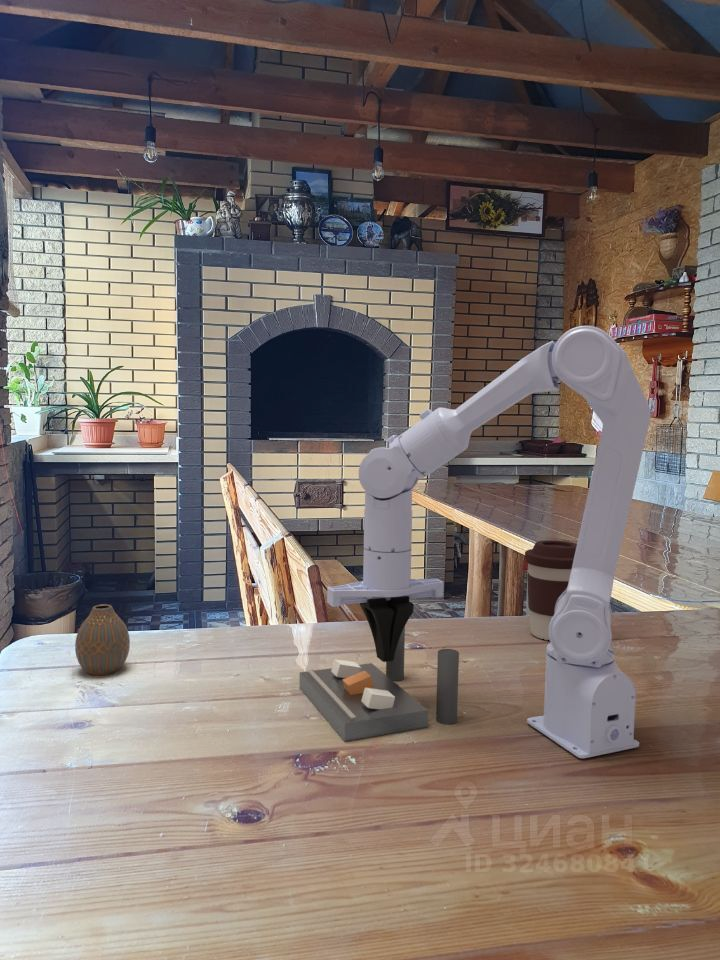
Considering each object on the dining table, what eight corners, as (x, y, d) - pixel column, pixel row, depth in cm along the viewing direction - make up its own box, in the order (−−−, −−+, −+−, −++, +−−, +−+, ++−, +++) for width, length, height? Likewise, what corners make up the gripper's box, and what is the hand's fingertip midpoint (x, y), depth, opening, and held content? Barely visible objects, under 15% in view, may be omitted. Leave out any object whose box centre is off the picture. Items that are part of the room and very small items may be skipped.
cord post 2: (460, 722, 81) (462, 654, 80) (442, 725, 80) (444, 656, 79) (450, 714, 83) (452, 647, 82) (432, 717, 82) (434, 650, 81)
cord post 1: (406, 679, 94) (408, 620, 93) (390, 681, 93) (391, 622, 92) (399, 673, 96) (400, 615, 95) (382, 675, 95) (384, 617, 94)
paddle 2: (391, 710, 80) (395, 697, 80) (368, 708, 78) (371, 694, 79) (384, 704, 82) (387, 690, 82) (361, 701, 80) (364, 687, 80)
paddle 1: (358, 679, 89) (361, 667, 89) (336, 676, 88) (339, 664, 88) (352, 674, 91) (355, 662, 91) (331, 671, 90) (334, 659, 90)
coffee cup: (593, 646, 109) (598, 550, 107) (529, 644, 109) (533, 548, 108) (575, 626, 119) (579, 538, 117) (516, 625, 119) (519, 537, 117)
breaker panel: (427, 727, 79) (428, 707, 79) (344, 741, 76) (344, 720, 75) (371, 677, 94) (371, 660, 94) (299, 687, 90) (299, 670, 90)
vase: (138, 662, 98) (137, 601, 98) (116, 680, 92) (115, 614, 91) (90, 660, 99) (90, 598, 98) (65, 677, 92) (64, 612, 91)
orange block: (374, 688, 84) (371, 676, 84) (351, 697, 83) (348, 685, 83) (367, 682, 86) (364, 670, 86) (345, 691, 85) (342, 679, 85)
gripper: (426, 539, 91) (423, 642, 92) (319, 545, 85) (317, 654, 87) (453, 549, 84) (450, 660, 86) (339, 556, 79) (337, 674, 80)
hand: (385, 658), depth 86 cm, fingers closed
